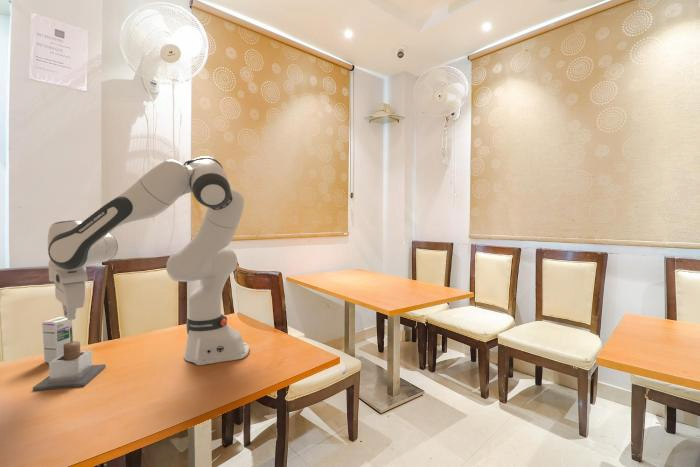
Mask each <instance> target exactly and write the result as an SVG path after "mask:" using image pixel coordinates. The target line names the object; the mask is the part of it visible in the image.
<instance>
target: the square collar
mask: <svg viewBox="0 0 700 467" xmlns="http://www.w3.org/2000/svg"><path fill="white" fill-rule="evenodd" d="M92 354H93V353H92V350H80V355H81V356H79V357H78V358H77V359H68V360H64V353H63V354H61V355H59V356H58V357H56V358H55V359H53V360H52V361H50V362H49V363H48V368H49V369H48V371H49V373H48V374H49V375H48V376H46V377H45V378H44V379H42V380H41V381H39V382H38V383H37V384H35V385H34V386H33V387H32V392H33V391H34V392H36V391H45V390H58V389H67V388H69V389H70V388H78V387H79V388H80V387H86V386H87V384H89V383H90V382H91V381H92V380H94V379H95V377H97V376H98V375H99V374H100V373H101V372H102V371H104V369H105V368H106V363H104V364H93V359H92V358H93V357H92V356H93V355H92Z"/></svg>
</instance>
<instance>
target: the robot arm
mask: <svg viewBox="0 0 700 467" xmlns="http://www.w3.org/2000/svg"><path fill="white" fill-rule="evenodd" d="M189 193H192V196H193V197H194V198H195V200H196V201H197V202H198V203H199V204H201V205H202V206H204V207H206V208H207V209H206V211H205V214H204V216H203V220H202V222H201V225H200V227H199V229H198V231H197V233H195V235H194V237H193V238H192V239H191V240H190V241H188V243H186V245H184V247H182V248H181V249H179V250H178V251H175V252H174V253H172V254H170V256H169V257H168V259H167V261H166V272H167V275H168V276H169V277H170V279H172V280H173V281H175V282H187V283H189V282H195V281H200V282H199V284H198V286H197V287H196V288H195V289H194V290H193V291H191V292H190V294H189V295H188V298H187V318H186V333H187V342H186V348H185V352H184V355H183V359H184V360H185V361H187V362H191V363H193V364H195V365H196V366H204V365H210V364H215V363H217V364H218V363H223V362H224V363H225V362H230V361H238V360H241V359H242V360H243V359H244V358H245V357H247V356H248V354H249V352H250V345H249V343H247V342H244V341H243V340H244V339H243V336H242V334H241V331H239V330H237V329H235V328H233V327H232V326H230V325H229V324H228V317H227V314H225V315H224V314H222V297H223V296H222V294H223V291H224V288H225V285H226V282H227V280H228V278H229V277H230V276H231V275H232V274H233V272H234V271H235V270H236V268H237V265H238V257H237V254H236V253H235V251H234V250H233V249H231V248H227V247H228V246H229V245H230V244H231V242H232V240H233V238H234V235H235V233H236V230H237V228H238V226H239V224H240V220H241V217H242V216H243V215H242V214H243V210H244V205H245V199H244V197H243V195H242V194H241V193H240V192H238V191H237V190H235V189H232V188H231V185H230V183H229V178H228V175H227V173H226V172H225V171H224V167H223V165H222V164H221V163H220V162H219V161H218V160H217V159H216V158H214V157H212V156H206V155H204V156H199V157H196V158H194V159H190V160H187V161H185V162H184V164H183V163H181V162H180V161H177V160H175V159H166V160H164V161H162V162H160V163H159V164H157V165H156V166H154V167H152V168H151V169H150V170H148V171H147V172H146V173H144V174H143V175H142V176H141V177H140V178H139V179H138V180H137V181H136V182H135V183H133V184H132V185H131V186H130V187H128V188H127V189H126V190H125V191H123V193H120V194H119V195H118V196H116V197H115V198H113V199H112V200H110V201H108V202H107V203H106V204H104V205H103V206H102V207H100V208H99V209H97V210H96V211H95V212H94V213H92V214H91V215H90V216H88V217H87V218H85V219H84V220H83V221H81V220H75V219H74V220H72V219H71V220H63V221H61V220H60V221H57V222H54V223H52V224H51V225H50V227H49V229H48V234H47V251H48V252H47V254H48V257H49V261H48V281H49V282H54V286H55V287H54V288H55V289H54V291H55V292H54V295H55V299H56V300H57V301H58V302H60V303H61V305H62V310H63V317H67V319H68V320H72V321H74V320H75V319H76V314H77V309H80V308H83V307H84V306H85V303H86V302H85V301H86V299H85V298H86V282H87V281H88V280H89V279H88V274H87V266H90V265H94V264H100V263H105V262H107V261H110V260H112V259H114V258H115V256H116V255H117V254H118V249H119V248H118V247H119V246H118V244H119V243H118V241H117V239H116V237H115V236H113V235H112V234H111V232H113V230H115V229H117V228H118V227H121V226H122V225H125V224H129V223H131V222H136V221H141V220H142V221H143V220H146V219H147V220H148V219H150V218H151V219H153V218H155V217H157V216H159V215H160V214H162V213H163V212H164V211H166V210H168V208H169V207H171V206H172V205H173V204H174V203H175V202H176V201H177V200H178V199H179V198H180V197H182V196H183V195H186V194H189Z"/></svg>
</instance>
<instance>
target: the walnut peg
mask: <svg viewBox="0 0 700 467" xmlns="http://www.w3.org/2000/svg"><path fill="white" fill-rule="evenodd" d="M63 348H64V360H68V359H77V358H78V357H79V356H81V355H80V351H81V341H79V340H78V341H76V340H75V341H74V340H73V342H69V343H66V344H64V345H63Z"/></svg>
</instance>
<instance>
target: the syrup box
mask: <svg viewBox="0 0 700 467" xmlns="http://www.w3.org/2000/svg"><path fill="white" fill-rule="evenodd" d="M41 325H42V341H43V343H42V344H43V356H44V357H43V360H44V363H46V362H47V363H48V364H49V362H50V361H52V360H53V359H55V358H56V357H58V356H59V355H61V354H63V353H64V348H63V345H64V344H66V343H69V342H74V339H73V338H74V336H73V320H68V319H67V317H65V316H58V317H56V318H51V319H49V320H45V321H42V323H41Z"/></svg>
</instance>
